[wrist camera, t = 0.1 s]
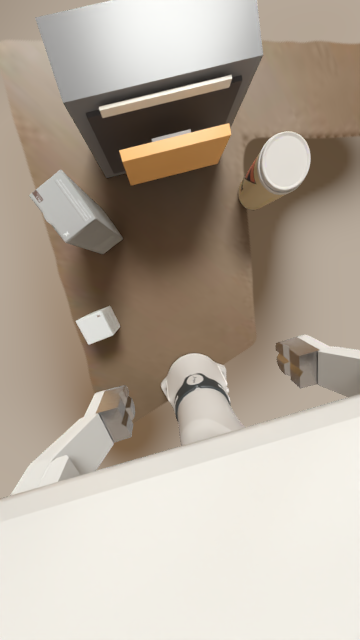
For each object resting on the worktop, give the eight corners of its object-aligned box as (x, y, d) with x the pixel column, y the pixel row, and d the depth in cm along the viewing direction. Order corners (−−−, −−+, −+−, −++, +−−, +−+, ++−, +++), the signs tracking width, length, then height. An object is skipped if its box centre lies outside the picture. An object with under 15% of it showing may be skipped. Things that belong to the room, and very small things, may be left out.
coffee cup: (249, 160, 42) (282, 115, 31) (280, 185, 44) (323, 152, 32) (226, 199, 44) (250, 170, 32) (258, 222, 45) (290, 203, 34)
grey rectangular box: (221, 154, 42) (264, 64, 24) (107, 183, 41) (66, 112, 23) (213, 105, 39) (253, -32, 22) (93, 135, 39) (35, 17, 21)
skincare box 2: (88, 313, 47) (74, 320, 40) (110, 305, 47) (101, 310, 40) (99, 335, 48) (88, 345, 41) (121, 327, 48) (113, 335, 41)
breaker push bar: (217, 163, 33) (231, 134, 27) (130, 185, 33) (122, 161, 26) (213, 144, 33) (227, 109, 26) (125, 166, 32) (115, 136, 26)
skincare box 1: (124, 239, 44) (102, 218, 28) (100, 257, 44) (65, 246, 29) (100, 205, 42) (63, 163, 26) (75, 224, 42) (24, 194, 27)
